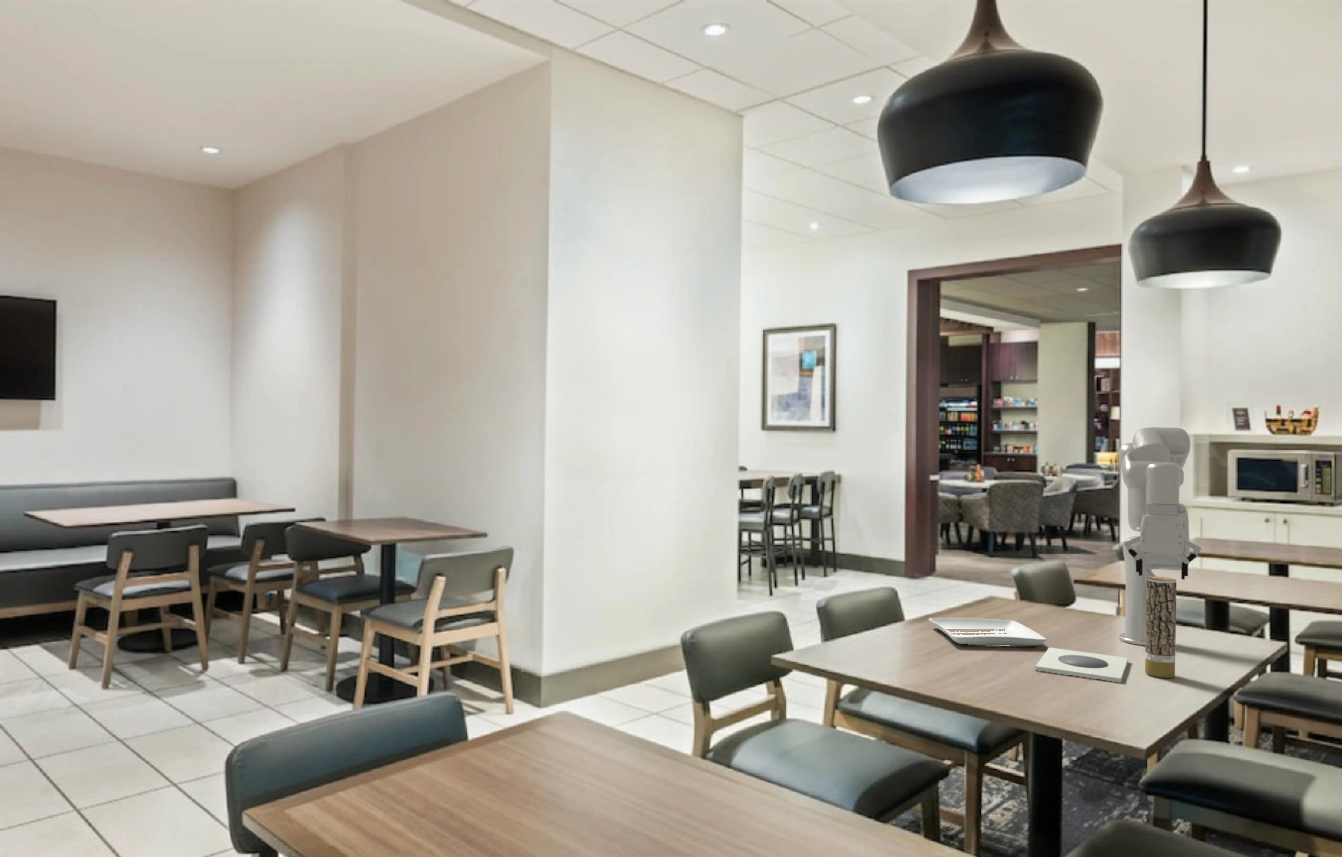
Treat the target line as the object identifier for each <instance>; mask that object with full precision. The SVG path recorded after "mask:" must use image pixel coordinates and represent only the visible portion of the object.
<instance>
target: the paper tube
mask: <svg viewBox="0 0 1342 857" xmlns="http://www.w3.org/2000/svg"><path fill="white" fill-rule="evenodd" d="M1176 626H1177V579H1176V578H1173V577H1172V578H1171V577H1166V576H1164V577H1163V576H1156V577H1147V579H1146V639H1145V645H1144V646H1145V647H1144V648H1145V649H1144V650H1145V652H1144V661H1145V662H1144V672H1145V673H1146V675H1149V676H1150V675H1151V676H1150V677H1155V678H1161V679H1172V678H1174V677H1175V675H1176V644H1177V643H1176V641H1177V640H1176V635H1177V634H1176V632H1177V630H1176Z"/></svg>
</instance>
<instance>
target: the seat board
mask: <svg viewBox="0 0 1342 857" xmlns="http://www.w3.org/2000/svg"><path fill="white" fill-rule="evenodd" d="M1128 663H1129V658H1128V657H1125V656H1116V655H1109V654H1101V653H1094V652H1087V651H1078V650H1071V649H1064V648H1056V647H1048V648H1047V650H1046V651H1045V652H1044V654H1043V655H1042V656H1041V657H1040V659H1039V660H1038V662H1037V663H1036V664H1035V666H1034V667H1035V670H1038V671H1037V672H1041V671H1047V672H1046V673H1048V672H1052V673H1051V674H1054V673H1057V674H1056V675H1061V674H1063V675H1062V676H1068V675H1073V676H1072V677H1075V676H1079V677H1078V678H1082V677H1086V678H1085V679H1089V678H1091V680H1096V679H1102V680H1101V681H1103V680H1107V681H1106V682H1109V681H1112V683H1116V682H1118V683H1119V684H1121V683H1122V682H1121V681H1123V679H1122V678H1124V676H1123V675H1125V673H1124V672H1126V670H1125V669H1127V667H1126V666H1128ZM1035 670H1034V671H1035ZM1118 683H1117V684H1118Z"/></svg>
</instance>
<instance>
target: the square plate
mask: <svg viewBox="0 0 1342 857" xmlns="http://www.w3.org/2000/svg"><path fill="white" fill-rule="evenodd" d="M928 620H929V621H930V622H931V623H932V624H933V625H934V627H936V628H937V629H938V630H940V631H941V632H943V633H944V634H946V635H947V636H948V637H949V638H950V639H952V640H953V641H954V642H956V643H957V644H960V645H964V644H968V645H967V646H970V645H1010V646H1026V647H1033V646H1034V647H1035V646H1037V647H1038V646H1040V645H1042V644H1044V643H1045V642H1046V641H1048V639H1047V637H1045V636H1043V635H1041V634H1040V633H1038V632H1037V631H1035V630H1033V629H1031V628H1029V627H1027V626H1025V625H1024V624H1022V623H1020V622H1017V621H1016V620H1011V619H993V618H992V619H991V618H977V617H929V618H928ZM946 629H995V630H994V631H990V632H986V631H985V632H981V631H979V632H967V633H995V634H990V635H989V634H986V635H984V634H982V635H981V634H979V635H976V634H975V635H962V634H960V635H957V634H955V635H954V634H951V633H966V632H960V631H959V632H956V631H955V632H950V631H948V630H946ZM996 629H997V631H996ZM999 629H1001V630H1002V629H1005V631H1004V630H1003V631H998V630H999ZM999 633H1001V634H999ZM1003 633H1007V634H1003Z"/></svg>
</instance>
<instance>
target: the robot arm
mask: <svg viewBox="0 0 1342 857" xmlns="http://www.w3.org/2000/svg"><path fill="white" fill-rule="evenodd" d="M1190 451H1191V438H1190V436H1189V434H1188V432H1187V431H1186V430H1185V429H1183V428H1182V427H1153V426H1152V427H1143V428H1141V429H1139V430H1137V431H1136V432H1135V433H1134V435H1133V437H1132V442H1128V443H1125V444H1123V445H1121V446H1120V447H1119V450H1118V461H1119V467H1120V469H1121V476H1122V480H1123V483H1124V485H1125V486H1126V488H1127V520H1128V525H1129V528H1130V529H1131V530H1132V531H1136V532H1140V533H1139V534H1140V535H1137V536H1131V537H1128V538H1126V540H1124V542H1123V544H1122V552H1123V553H1122V554H1123V559H1124V568H1125V605H1124V606H1125V610H1124V611H1125V612H1124V613H1125V614H1124V615H1125V616H1124V618H1125V619H1124V624H1125V625H1124V632H1122V633H1120V634H1118V639H1119V640H1120V641H1121V642H1122V641H1123V642H1124V643H1128V644H1133V645H1138V646H1145V639H1146V579H1147V577H1157V575H1155V574H1154V572H1153V571H1152V570H1166V571H1168V570H1169V571H1181V572H1180V573H1181V574H1180V575H1181V577H1180V578H1181V580H1183V581H1184V580H1185V579H1186V577H1188V576H1189V565H1190V563H1191V562H1193V561H1194V560H1195V559H1196V558H1197V556H1198V555H1199V554H1200V552H1201V550H1202V547H1201V546H1200V545H1198V544H1195V543H1194V542H1191V541H1190V523H1189V514H1188V510H1187V508H1186V506H1185V505H1184V504H1182V503H1181V502H1180V488H1181V486H1182V485H1183V483H1184V479H1185V475H1184V474H1185V473H1184V470H1183V468H1184V466H1185V464H1186V461H1187V459H1188V457H1189V454H1190ZM1190 548H1191V549H1192V550H1193V551H1192V553H1191V551H1190ZM1190 553H1191V554H1190Z"/></svg>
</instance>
